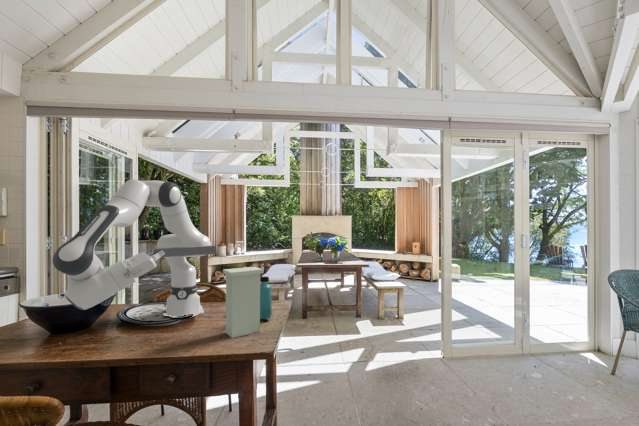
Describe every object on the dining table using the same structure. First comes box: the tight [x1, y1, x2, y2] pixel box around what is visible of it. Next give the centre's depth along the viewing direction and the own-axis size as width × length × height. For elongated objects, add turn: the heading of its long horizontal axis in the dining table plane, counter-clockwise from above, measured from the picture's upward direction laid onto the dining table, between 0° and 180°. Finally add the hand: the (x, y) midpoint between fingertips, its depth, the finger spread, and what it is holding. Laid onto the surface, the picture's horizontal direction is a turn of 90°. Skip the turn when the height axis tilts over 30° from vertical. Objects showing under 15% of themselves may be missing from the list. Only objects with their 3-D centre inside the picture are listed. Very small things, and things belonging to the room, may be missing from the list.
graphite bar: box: [151, 245, 217, 258], centre depth 121 cm, size 22×3×3 cm, turn 126°
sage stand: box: [222, 266, 265, 339], centre depth 134 cm, size 14×9×26 cm, turn 126°
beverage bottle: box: [260, 276, 273, 320], centre depth 150 cm, size 6×7×20 cm
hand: (162, 251), depth 116 cm, fingers closed on graphite bar, 3 cm apart
